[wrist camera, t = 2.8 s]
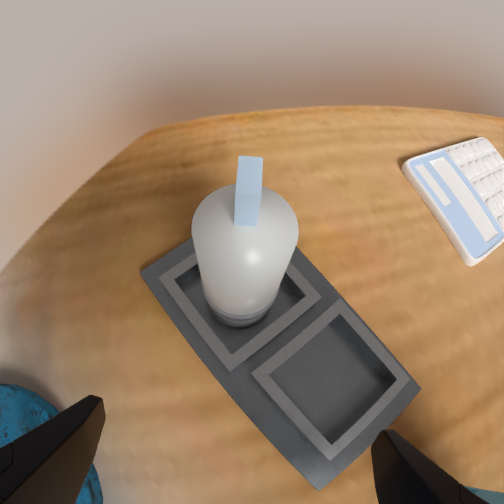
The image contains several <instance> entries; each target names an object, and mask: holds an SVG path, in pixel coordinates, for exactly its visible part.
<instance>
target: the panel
mask: <svg viewBox="0 0 504 504" xmlns="http://www.w3.org/2000/svg"><path fill="white" fill-rule="evenodd" d="M140 274H141V276H142V277H143V279H144V280H145V282H146V283H147V285H148V286H149V288H150V289H151V291H152V292H153V294H154V295H155V297H156V298H157V300H158V301H159V302H160V304H161V305H162V307H163V308H164V310H165V311H166V312H167V314H168V315H169V317H170V318H171V319H172V321H173V322H174V324H175V325H176V326H177V328H178V329H179V331H180V332H181V333H182V335H183V336H184V337H185V339H186V340H187V341H188V343H189V344H190V345H191V347H192V348H193V349H194V351H195V352H196V353H197V355H198V356H199V357H200V358H201V360H202V361H203V362H204V364H205V365H206V366H207V367H208V369H209V370H210V371H211V373H212V374H213V375H214V376H215V378H216V379H217V380H218V381H219V383H220V384H221V385H222V386H223V387H224V389H225V390H226V391H227V392H228V394H229V395H230V396H231V397H232V398H233V400H234V401H235V402H236V403H237V404H238V405H239V407H240V408H241V409H242V410H243V411H244V413H245V414H246V415H247V416H248V417H249V418H250V419H251V421H252V422H253V423H254V424H255V425H256V426H257V427H258V429H259V430H260V431H261V432H262V433H263V434H264V435H265V436H266V437H267V439H268V440H269V441H270V442H271V443H272V444H273V445H274V446H275V447H276V448H277V449H278V450H279V452H280V453H281V454H282V455H283V456H284V457H285V458H286V459H287V460H288V461H289V462H290V463H291V464H292V465H293V466H294V467H295V468H296V469H297V470H298V471H299V472H300V473H301V474H302V475H303V476H304V477H305V478H306V479H307V480H308V481H309V482H310V483H311V484H312V485H313V486H314V487H315V488H316V489H317V490H318V491H320V490H321V489H322V488H323V487H325V486H326V485H327V484H328V483H329V482H331V481H332V480H333V479H334V478H335V477H336V476H338V475H339V474H340V473H341V472H342V471H343V470H344V469H345V468H347V467H348V466H349V465H350V464H351V463H352V462H353V461H354V460H355V459H356V458H357V457H359V456H360V455H361V454H362V453H363V452H364V451H365V450H366V449H367V448H368V447H369V446H370V445H371V444H372V443H373V442H374V441H375V439H376V438H377V436H378V434H379V433H380V431H381V430H386V429H387V427H388V426H389V425H390V424H391V423H392V422H393V421H394V420H395V419H396V418H397V417H398V416H399V414H400V413H401V412H402V411H403V410H404V409H405V408H406V406H407V405H408V404H409V403H410V402H411V401H412V399H413V398H414V397H415V396H416V395H417V393H418V392H419V391H420V390H421V388H420V386H419V385H418V384H417V383H416V382H415V380H414V379H413V378H412V377H411V376H410V374H409V373H408V372H407V371H406V370H405V368H404V367H403V366H402V365H401V364H400V363H399V361H398V360H397V359H396V358H395V357H394V356H393V354H392V353H391V352H390V351H389V350H388V349H387V347H386V346H385V345H384V344H383V343H382V342H381V340H380V339H379V338H378V337H377V336H376V335H375V334H374V332H373V331H372V330H371V329H370V328H369V327H368V326H367V324H366V323H365V322H364V321H363V320H362V319H361V318H360V316H359V315H358V314H357V313H356V312H355V311H354V310H353V309H352V307H351V306H350V305H349V304H348V303H347V302H346V301H345V300H344V298H343V297H342V296H341V295H340V294H339V293H338V292H337V291H336V290H335V288H334V287H333V286H332V285H331V284H330V283H329V282H328V281H327V280H326V278H325V277H324V276H323V275H322V274H321V273H320V272H319V271H318V270H317V269H316V267H315V266H314V265H313V264H312V263H311V262H310V261H309V260H308V259H307V258H306V257H305V255H304V254H303V253H302V252H301V251H300V250H299V249H298V248H297V247H295V249H294V252H293V254H292V257H291V259H290V261H289V264H288V266H287V269H286V271H285V273H284V276H283V278H282V281H281V283H280V288H279V292H278V294H277V296H276V299H275V301H274V303H273V304H272V306H271V307H270V309H269V311H268V312H267V314H266V315H265V317H264V318H263V319H261V320H260V321H259V322H257V323H256V324H254V325H251V326H248V327H231V326H228V325H225V324H223V323H222V322H220V321H219V320H217V319H216V318H215V317H214V316H213V314H212V313H211V311H210V310H209V307H208V305H207V302H206V300H205V297H204V294H203V290H202V286H201V274H200V270H199V266H198V261H197V256H196V252H195V247H194V242H193V238H190V239H188V240H187V241H185V242H184V243H182V244H181V245H179V246H178V247H176V248H175V249H173V250H172V251H170V252H169V253H168V254H166V255H165V256H163V257H162V258H160V259H159V260H157V261H156V262H154V263H153V264H151V265H150V266H148V267H147V268H145V269H144V270H143V271H141V272H140Z"/></svg>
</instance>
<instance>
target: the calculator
mask: <svg viewBox="0 0 504 504" xmlns="http://www.w3.org/2000/svg"><path fill="white" fill-rule="evenodd" d="M402 172H403V173H404V175H405V177H406V178H407V179H408V181H409V182H410V183H411V185H412V186H413V187H414V189H415V190H416V191H417V193H418V194H419V196H420V197H421V198H422V200H423V201H424V202H425V204H426V205H427V207H428V208H429V210H430V211H431V212H432V214H433V215H434V217H435V218H436V220H437V221H438V223H439V224H440V226H441V227H442V229H443V230H444V232H445V233H446V235H447V236H448V238H449V240H450V241H451V243H452V244H453V246H454V247H455V249H456V251H457V252H458V254H459V256H460V257H461V259H462V260H463V261H464V263H465V264H466V265H468V266H473V265H476V264H477V263H479V262H480V261H481V260H483V259H484V258H485V257H486V256H488V255H489V254H490V253H491V252H492V251H493V250H495V249H496V248H497V247H498V246H499V245H500V244H501V243H503V242H504V159H503V158H502V157H501V155H500V154H499V153H498V152H497V150H496V149H495V148H494V147H493V146H492V144H491V143H490V142H489V141H488V140H487V139H486V138H484V137H479V138H475V139H472V140H468V141H465V142H461V143H458V144H455V145H451V146H448V147H445V148H441V149H438V150H435V151H431V152H428V153H425V154H422V155H419V156H415V157H413V158H410V159H408V160H406V161H405V162H404V164H403V166H402ZM473 177H474V178H473Z"/></svg>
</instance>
